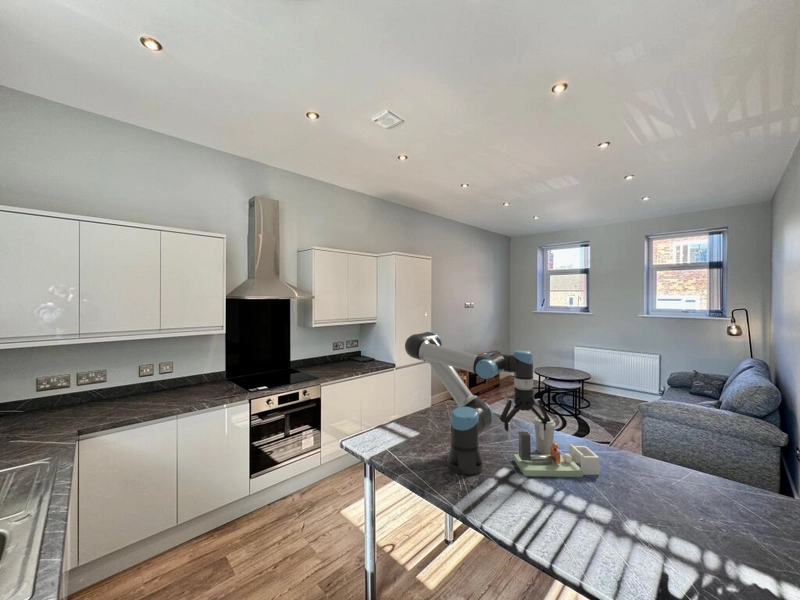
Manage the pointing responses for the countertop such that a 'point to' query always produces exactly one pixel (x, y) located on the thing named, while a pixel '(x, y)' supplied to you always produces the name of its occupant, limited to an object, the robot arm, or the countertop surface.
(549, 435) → the coffee cup
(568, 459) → the ball
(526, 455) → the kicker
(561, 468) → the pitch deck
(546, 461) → the rail guide
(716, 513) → the countertop surface
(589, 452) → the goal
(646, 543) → the countertop surface
